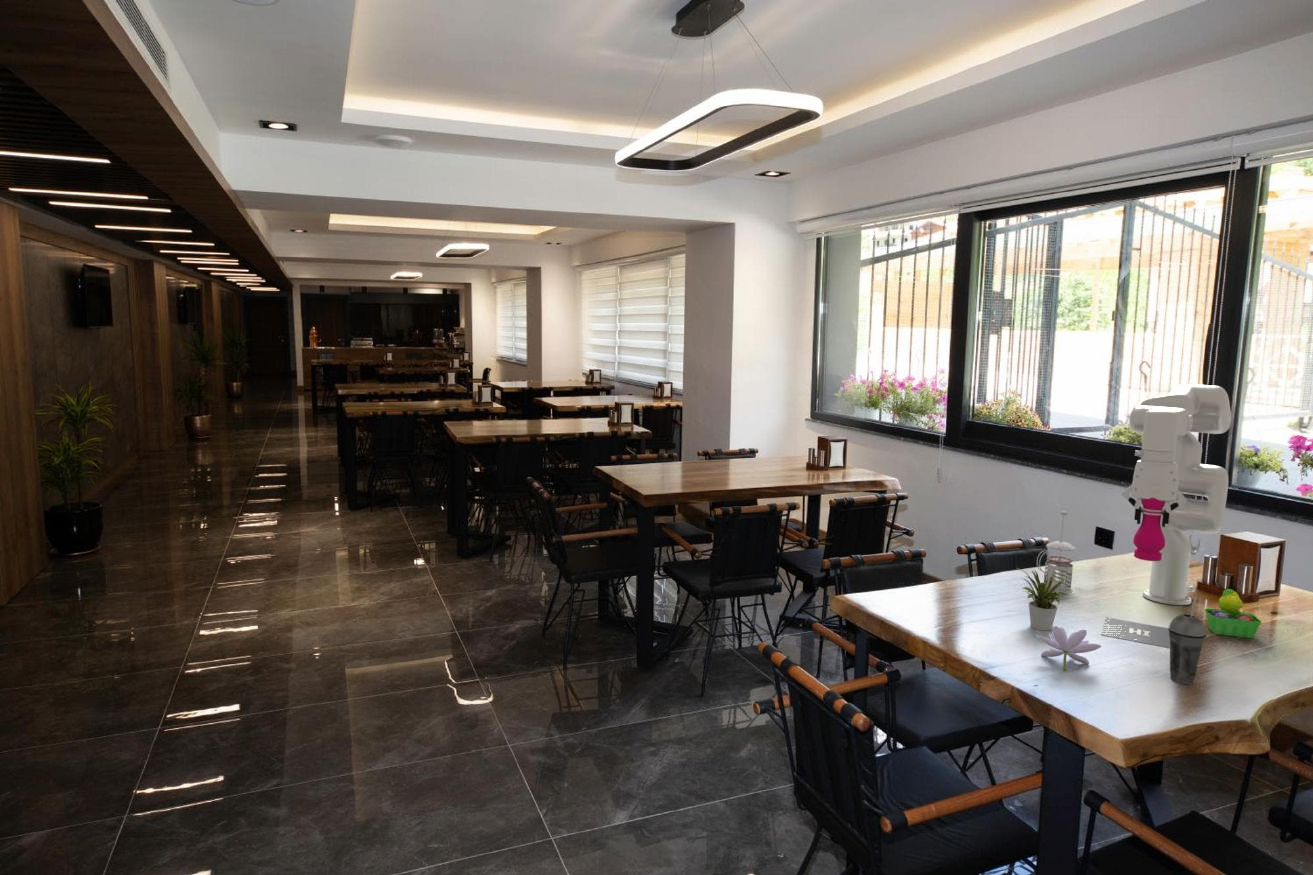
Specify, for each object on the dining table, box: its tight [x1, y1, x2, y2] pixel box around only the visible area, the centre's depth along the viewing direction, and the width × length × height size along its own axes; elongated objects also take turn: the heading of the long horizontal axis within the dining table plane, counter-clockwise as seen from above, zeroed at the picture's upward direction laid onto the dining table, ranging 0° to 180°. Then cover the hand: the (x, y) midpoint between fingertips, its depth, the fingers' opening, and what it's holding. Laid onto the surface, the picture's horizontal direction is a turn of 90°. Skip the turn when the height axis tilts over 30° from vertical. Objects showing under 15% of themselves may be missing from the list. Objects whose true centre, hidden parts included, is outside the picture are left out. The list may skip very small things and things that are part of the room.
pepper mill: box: [1132, 498, 1165, 562], centre depth 213 cm, size 7×7×20 cm
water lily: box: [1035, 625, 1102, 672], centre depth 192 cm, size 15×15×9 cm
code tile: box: [1100, 616, 1170, 649], centre depth 217 cm, size 17×17×1 cm
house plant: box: [1016, 567, 1071, 631], centre depth 219 cm, size 14×14×16 cm
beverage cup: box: [1168, 595, 1207, 685], centre depth 185 cm, size 7×7×20 cm
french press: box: [1036, 510, 1076, 594], centre depth 253 cm, size 10×12×25 cm
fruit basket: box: [1204, 588, 1262, 639], centre depth 219 cm, size 11×9×11 cm
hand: (1150, 523), depth 214 cm, fingers closed on pepper mill, 5 cm apart
